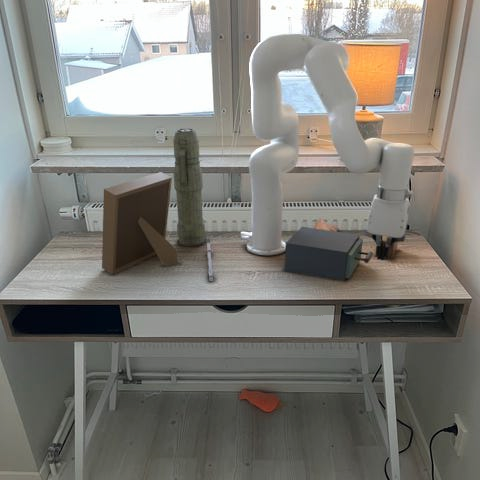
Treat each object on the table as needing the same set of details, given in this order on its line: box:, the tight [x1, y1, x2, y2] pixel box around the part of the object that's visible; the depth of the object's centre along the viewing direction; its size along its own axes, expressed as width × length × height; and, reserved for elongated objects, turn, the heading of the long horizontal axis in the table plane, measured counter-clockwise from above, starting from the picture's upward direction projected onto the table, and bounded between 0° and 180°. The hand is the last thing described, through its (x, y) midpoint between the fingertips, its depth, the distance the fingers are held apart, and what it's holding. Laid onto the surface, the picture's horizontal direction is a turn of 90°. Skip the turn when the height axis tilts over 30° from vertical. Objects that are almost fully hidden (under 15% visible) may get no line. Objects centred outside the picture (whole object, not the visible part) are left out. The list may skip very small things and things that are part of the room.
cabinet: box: [284, 226, 360, 282], centre depth 151 cm, size 18×15×9 cm
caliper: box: [206, 235, 214, 282], centre depth 152 cm, size 20×1×6 cm, turn 5°
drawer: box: [345, 237, 374, 279], centre depth 150 cm, size 21×13×7 cm, turn 66°
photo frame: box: [101, 171, 179, 275], centre depth 149 cm, size 15×22×25 cm
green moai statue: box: [172, 128, 206, 247], centre depth 163 cm, size 9×12×35 cm
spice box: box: [375, 236, 399, 260], centre depth 160 cm, size 5×8×6 cm, turn 156°
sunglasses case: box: [314, 218, 340, 232], centre depth 172 cm, size 18×7×7 cm, turn 170°
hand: (381, 258), depth 145 cm, fingers closed
